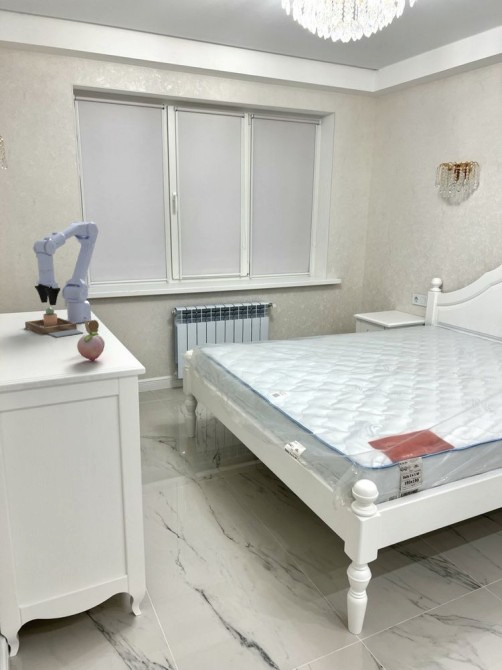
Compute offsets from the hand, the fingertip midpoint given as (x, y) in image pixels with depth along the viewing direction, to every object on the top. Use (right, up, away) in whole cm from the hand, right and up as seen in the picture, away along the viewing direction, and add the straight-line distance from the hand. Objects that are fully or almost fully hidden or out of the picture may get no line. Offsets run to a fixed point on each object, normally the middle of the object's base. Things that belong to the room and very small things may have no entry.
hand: (48, 303), depth 203 cm
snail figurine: (+26, -18, -26) cm, 41 cm away
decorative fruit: (+30, -21, -40) cm, 54 cm away
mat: (+9, -12, -6) cm, 16 cm away
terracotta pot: (0, -10, +3) cm, 10 cm away
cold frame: (0, -10, +3) cm, 10 cm away
